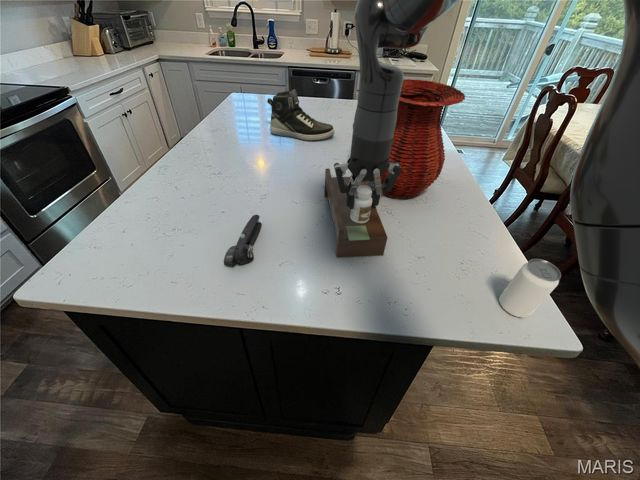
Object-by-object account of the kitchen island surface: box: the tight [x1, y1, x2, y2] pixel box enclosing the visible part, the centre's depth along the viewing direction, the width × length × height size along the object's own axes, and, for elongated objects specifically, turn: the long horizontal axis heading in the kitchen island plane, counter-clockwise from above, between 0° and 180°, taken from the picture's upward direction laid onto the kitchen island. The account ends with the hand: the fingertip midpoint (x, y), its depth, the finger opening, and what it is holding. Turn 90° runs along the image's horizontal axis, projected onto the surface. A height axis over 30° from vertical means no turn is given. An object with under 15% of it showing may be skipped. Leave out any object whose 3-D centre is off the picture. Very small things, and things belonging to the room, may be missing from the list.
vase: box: [380, 78, 466, 199], centre depth 88 cm, size 23×24×30 cm
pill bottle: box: [350, 185, 373, 223], centre depth 65 cm, size 4×4×8 cm
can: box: [498, 258, 562, 318], centre depth 60 cm, size 6×6×12 cm
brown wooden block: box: [323, 168, 388, 259], centre depth 81 cm, size 28×12×9 cm, turn 6°
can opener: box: [223, 214, 263, 267], centre depth 74 cm, size 18×7×6 cm, turn 170°
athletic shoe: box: [266, 89, 335, 142], centre depth 120 cm, size 10×28×18 cm, turn 78°
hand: (361, 206), depth 65 cm, fingers closed on pill bottle, 4 cm apart
